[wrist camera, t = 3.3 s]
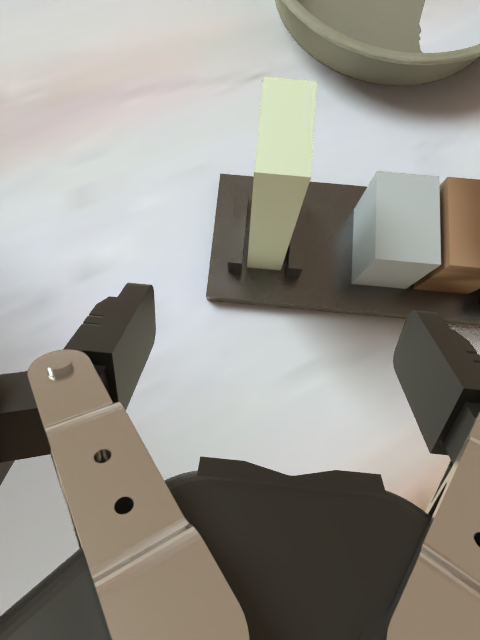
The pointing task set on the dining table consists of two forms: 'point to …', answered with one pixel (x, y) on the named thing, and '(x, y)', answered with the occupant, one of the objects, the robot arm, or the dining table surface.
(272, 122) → the pale green block
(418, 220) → the offcut
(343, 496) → the robot arm
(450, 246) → the offcut
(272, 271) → the rack
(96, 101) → the dining table surface
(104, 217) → the dining table surface
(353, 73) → the cake pan
